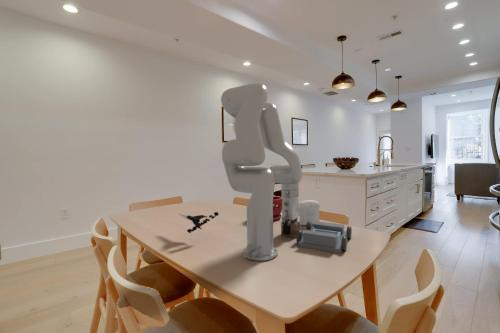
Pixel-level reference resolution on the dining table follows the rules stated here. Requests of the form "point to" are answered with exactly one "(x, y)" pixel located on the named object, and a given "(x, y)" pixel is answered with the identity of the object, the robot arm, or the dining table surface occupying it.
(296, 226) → the brown cardboard carton
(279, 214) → the plant pot
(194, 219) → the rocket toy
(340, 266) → the dining table surface
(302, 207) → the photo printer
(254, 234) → the robot arm
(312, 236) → the chassis
